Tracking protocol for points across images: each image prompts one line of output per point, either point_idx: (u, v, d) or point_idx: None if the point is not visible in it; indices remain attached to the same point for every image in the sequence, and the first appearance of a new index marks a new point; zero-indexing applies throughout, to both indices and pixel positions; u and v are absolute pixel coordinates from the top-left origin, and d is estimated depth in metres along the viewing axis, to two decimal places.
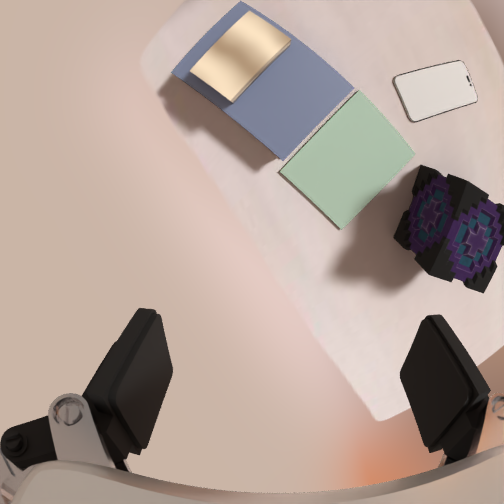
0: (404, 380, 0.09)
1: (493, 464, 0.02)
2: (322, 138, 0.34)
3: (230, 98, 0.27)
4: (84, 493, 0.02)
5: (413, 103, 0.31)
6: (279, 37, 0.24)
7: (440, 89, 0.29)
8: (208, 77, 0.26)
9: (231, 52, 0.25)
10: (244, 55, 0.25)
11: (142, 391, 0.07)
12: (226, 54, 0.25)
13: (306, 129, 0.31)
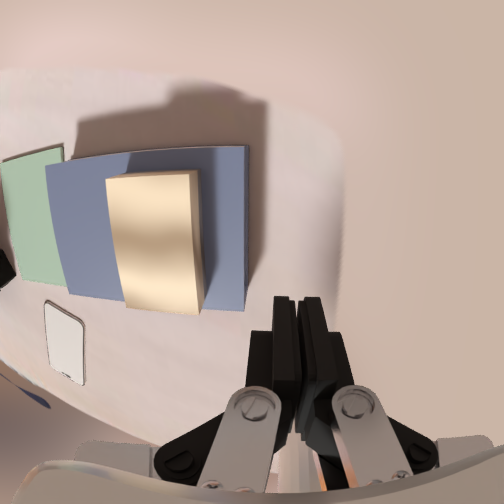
0: None
1: (493, 464, 0.02)
2: None
3: (107, 182, 0.17)
4: (84, 493, 0.02)
5: (57, 317, 0.31)
6: (136, 301, 0.20)
7: (63, 348, 0.33)
8: (154, 185, 0.17)
9: (160, 243, 0.18)
10: (143, 250, 0.19)
11: None
12: (162, 235, 0.18)
13: (55, 216, 0.21)
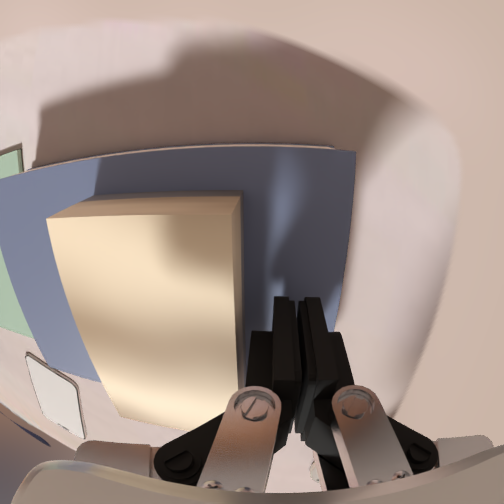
0: None
1: (493, 464, 0.02)
2: None
3: (50, 225, 0.07)
4: (84, 493, 0.02)
5: (43, 373, 0.22)
6: (135, 413, 0.11)
7: (55, 403, 0.24)
8: (145, 238, 0.07)
9: (167, 348, 0.09)
10: (136, 355, 0.09)
11: None
12: (172, 337, 0.08)
13: (9, 262, 0.12)
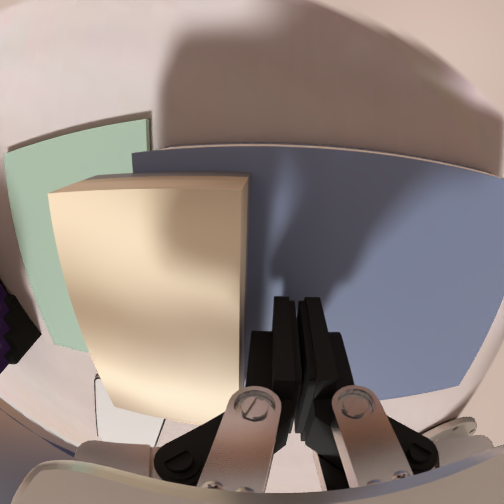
0: None
1: (493, 464, 0.02)
2: None
3: (51, 200, 0.07)
4: (83, 493, 0.02)
5: None
6: (129, 403, 0.11)
7: (124, 426, 0.23)
8: (151, 213, 0.07)
9: (167, 332, 0.08)
10: (133, 339, 0.09)
11: None
12: (173, 320, 0.08)
13: None
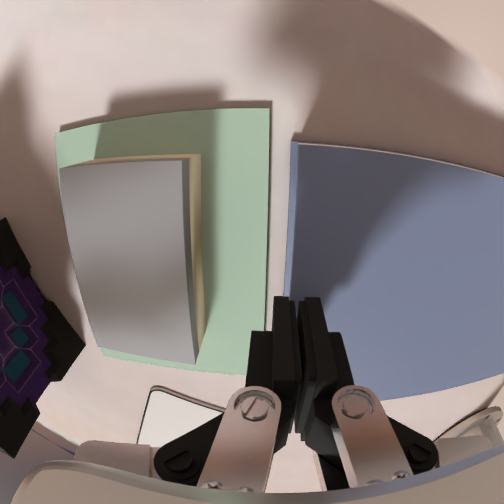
0: None
1: (493, 464, 0.02)
2: (245, 256, 0.14)
3: None
4: (84, 493, 0.02)
5: (178, 408, 0.21)
6: None
7: (174, 437, 0.23)
8: None
9: None
10: None
11: None
12: None
13: (307, 276, 0.11)
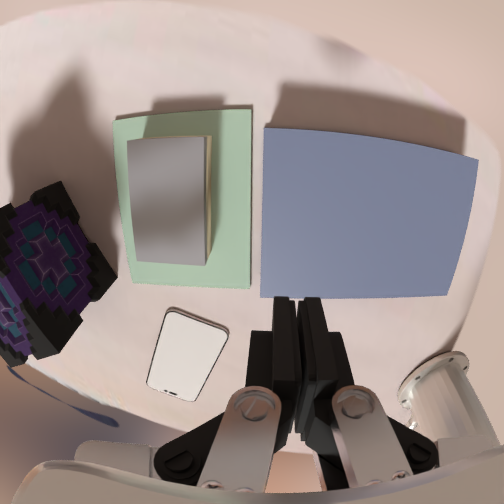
0: None
1: (493, 464, 0.02)
2: (237, 196, 0.23)
3: None
4: (83, 492, 0.02)
5: (186, 328, 0.29)
6: None
7: (180, 363, 0.32)
8: None
9: None
10: None
11: None
12: None
13: (270, 197, 0.19)
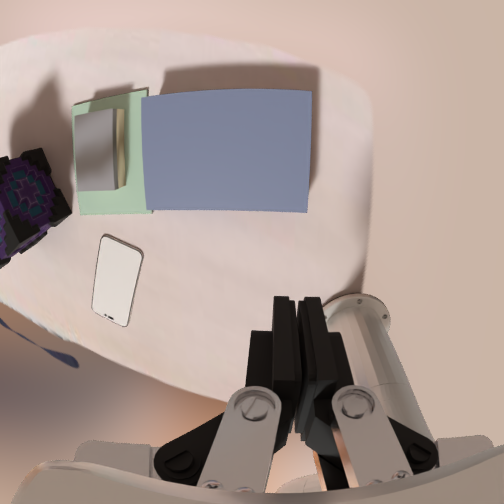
0: None
1: (493, 464, 0.02)
2: (139, 146, 0.31)
3: (123, 111, 0.30)
4: (83, 493, 0.02)
5: (114, 250, 0.38)
6: None
7: (113, 284, 0.40)
8: None
9: None
10: None
11: None
12: None
13: (146, 138, 0.28)
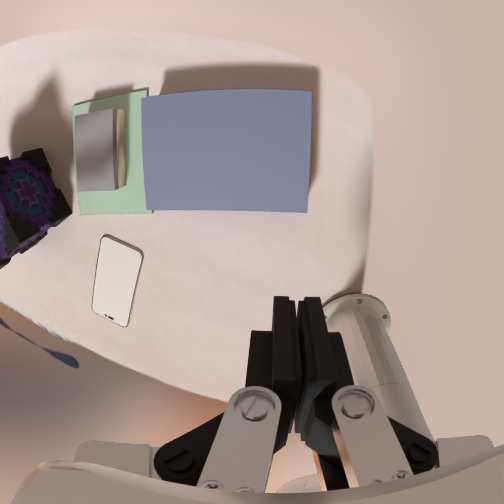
0: None
1: (493, 464, 0.02)
2: (139, 146, 0.32)
3: (123, 111, 0.30)
4: (84, 493, 0.02)
5: (114, 250, 0.38)
6: None
7: (113, 284, 0.40)
8: None
9: None
10: None
11: None
12: None
13: (146, 138, 0.28)
